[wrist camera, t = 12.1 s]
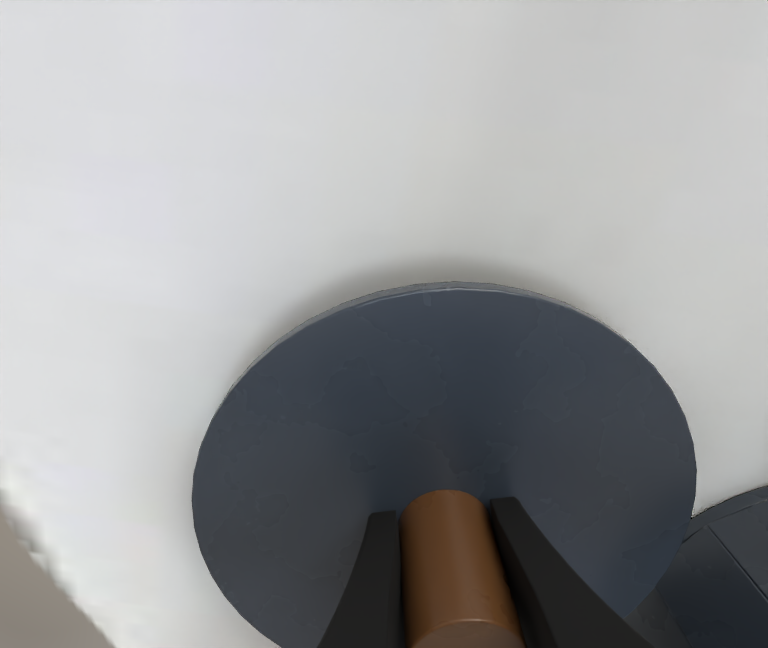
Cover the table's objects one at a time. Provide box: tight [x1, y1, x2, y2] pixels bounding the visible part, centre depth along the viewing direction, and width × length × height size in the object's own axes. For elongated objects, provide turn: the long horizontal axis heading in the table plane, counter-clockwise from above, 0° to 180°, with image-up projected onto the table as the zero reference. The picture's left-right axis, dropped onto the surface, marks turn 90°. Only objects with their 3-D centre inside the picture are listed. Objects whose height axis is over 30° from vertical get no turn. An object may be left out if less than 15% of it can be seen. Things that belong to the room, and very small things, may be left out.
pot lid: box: [192, 282, 697, 648], centre depth 12 cm, size 13×13×5 cm
